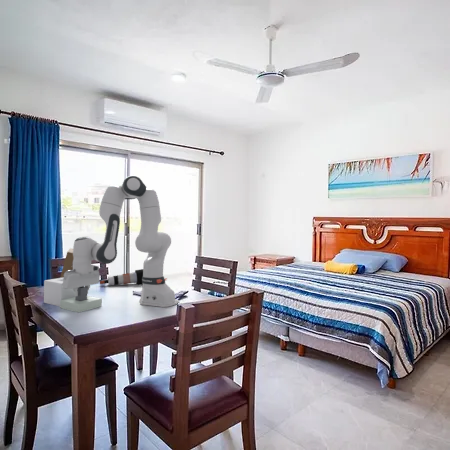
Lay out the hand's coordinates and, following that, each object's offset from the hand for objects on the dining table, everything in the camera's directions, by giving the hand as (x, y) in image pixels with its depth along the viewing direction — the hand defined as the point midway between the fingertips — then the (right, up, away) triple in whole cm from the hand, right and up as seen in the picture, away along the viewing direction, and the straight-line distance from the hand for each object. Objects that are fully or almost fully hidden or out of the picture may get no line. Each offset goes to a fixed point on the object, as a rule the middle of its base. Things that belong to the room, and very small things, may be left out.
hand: (81, 294), depth 175 cm
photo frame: (-24, -5, +41) cm, 48 cm away
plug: (0, -4, 0) cm, 4 cm away
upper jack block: (-13, -6, +9) cm, 17 cm away
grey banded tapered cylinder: (+6, -6, +59) cm, 60 cm away
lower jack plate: (0, -6, 0) cm, 6 cm away
